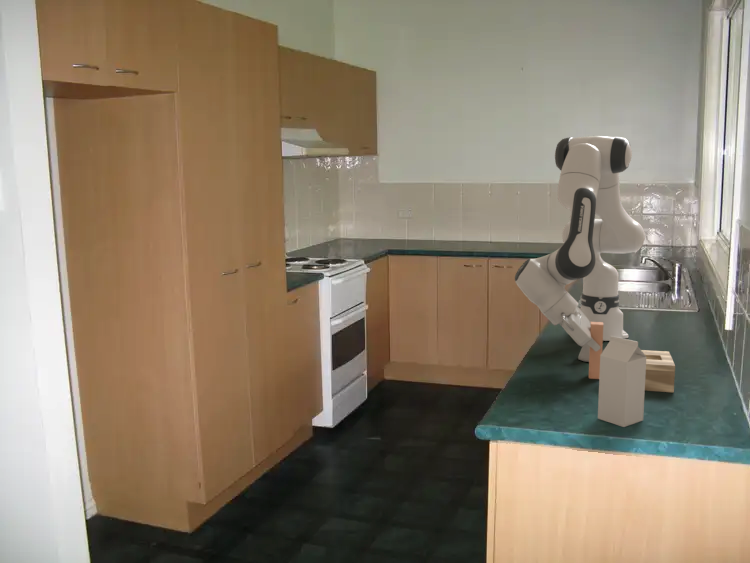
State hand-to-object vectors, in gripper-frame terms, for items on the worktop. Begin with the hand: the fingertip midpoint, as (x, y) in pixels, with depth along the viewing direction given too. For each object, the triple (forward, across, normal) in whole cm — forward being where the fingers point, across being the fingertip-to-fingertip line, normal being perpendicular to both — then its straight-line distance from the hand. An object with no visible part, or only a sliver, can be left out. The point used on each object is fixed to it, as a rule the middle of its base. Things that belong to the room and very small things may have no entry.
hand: (598, 347), depth 198 cm
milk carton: (+9, -33, +3) cm, 34 cm away
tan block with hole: (+15, -2, -4) cm, 16 cm away
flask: (+5, +18, +7) cm, 20 cm away
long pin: (+6, 0, +6) cm, 8 cm away
